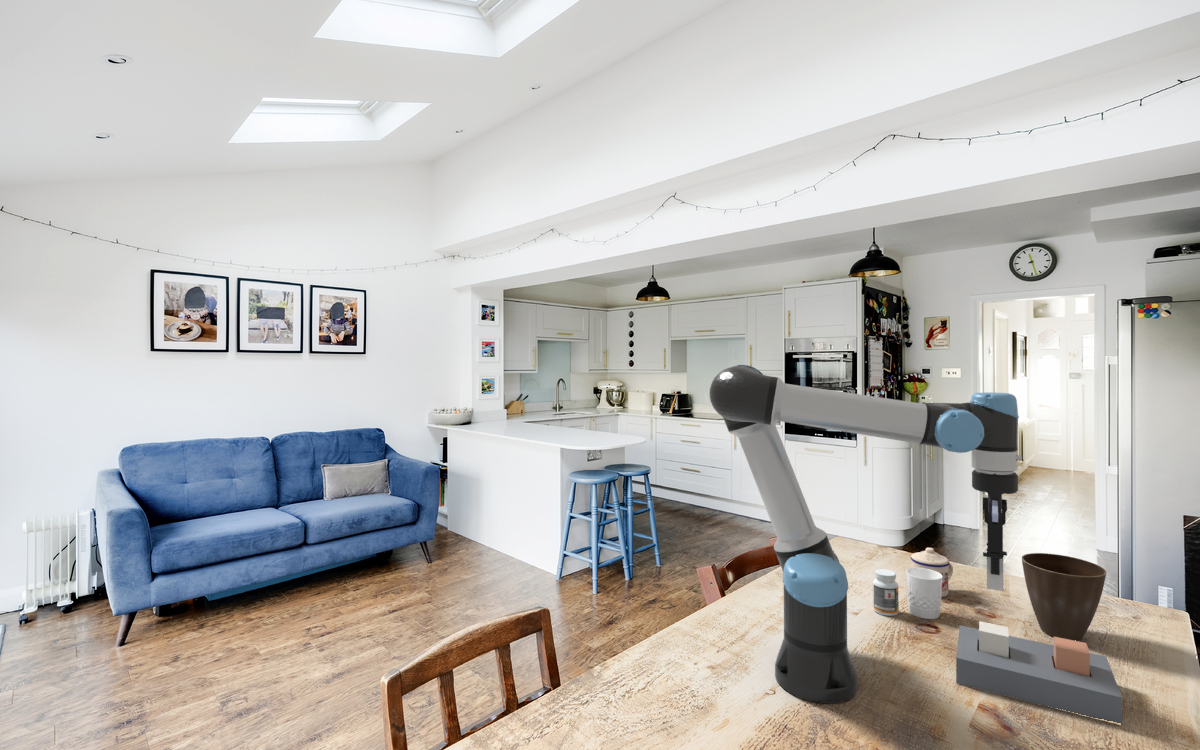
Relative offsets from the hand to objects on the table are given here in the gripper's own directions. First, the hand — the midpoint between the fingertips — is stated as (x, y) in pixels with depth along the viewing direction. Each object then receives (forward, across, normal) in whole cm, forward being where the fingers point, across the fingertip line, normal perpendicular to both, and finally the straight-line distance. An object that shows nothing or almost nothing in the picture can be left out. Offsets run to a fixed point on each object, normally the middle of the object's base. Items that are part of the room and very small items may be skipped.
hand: (995, 588), depth 114 cm
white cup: (+17, +23, +14) cm, 32 cm away
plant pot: (+18, +28, -13) cm, 35 cm away
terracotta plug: (+14, 0, -12) cm, 18 cm away
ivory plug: (+14, 0, 0) cm, 14 cm away
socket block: (+17, 0, -6) cm, 18 cm away
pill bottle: (+17, +19, +22) cm, 34 cm away
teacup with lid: (+17, +40, +13) cm, 46 cm away
